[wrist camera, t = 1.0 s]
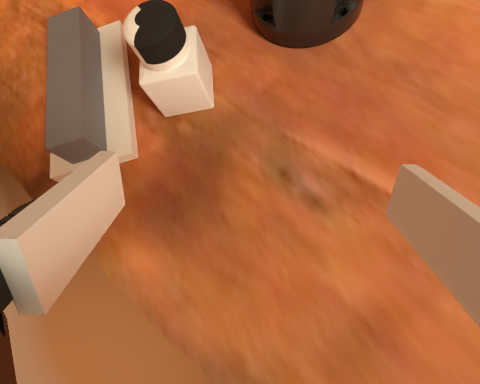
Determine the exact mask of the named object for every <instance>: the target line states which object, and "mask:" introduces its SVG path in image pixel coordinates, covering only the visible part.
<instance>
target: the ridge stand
mask: <svg viewBox="0 0 480 384" xmlns="http://www.w3.org/2000/svg"><path fill="white" fill-rule="evenodd" d="M45 150H47V151H49V152H50V179H52V180H55V181H57V182H60V181H61V180H63V179H64V178H65V177H67V176H68V175H69V174H71V173H72V172H73V171H75V170H76V169H77V168H78V167H80V166H81V165H82V164H84V163H85V162H86V161H88V160H89V159H90V158H92V157H93V156H94V155H96V154H97V153H98V152H99V151H114V152H117V154H118V160H119V164H120V163H123V162H126V161H130V160H133V159H136V158H138V149H137V139H136V130H135V120H134V111H133V101H132V92H131V82H130V73H129V63H128V54H127V44H126V40H125V38H124V36H123V25H122V23H121V22H120V20H119V21H116V22H113V23H111V24H108V25H105V26H102V27H100V28H96V27H95V26H94V24H93V23H92V22H91V21H90V19H89V18H88V17H87V16H86V14H85V13H84V12H83V11H82V9H81V8H80V7H79V6H78V7H76V8H73V9H70V10H68V11H65V12H63V13H60V14H57V15H55V16H52V17H49V18H48V45H47V88H46V131H45Z"/></svg>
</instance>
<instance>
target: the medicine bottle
mask: <svg viewBox="0 0 480 384" xmlns="http://www.w3.org/2000/svg"><path fill="white" fill-rule="evenodd" d="M123 36H124V38H125V40H126V41H127V43H128V44H129V45H130V47H131V48H132V50H133V51H134V52H135V54H136V55H137V57H138V58H139V59H140V66H139V85H140V86H141V88H142V89H143V90H144V91H145V93H146V94H147V95H148V96H149V98H150V99H151V100H152V101H153V103H154V104H155V105H156V106H157V108H158V109H159V110H160V111H161V113H162V114H163V115H164V116H165V117H169V116H175V115H180V114H185V113H191V112H196V111H201V110H206V109H212V108H213V107H214V95H213V77H212V65H211V63H210V60H209V58H208V55H207V53H206V50H205V48H204V45H203V43H202V41H201V38H200V36H199V33H198V31H197V28H196V26H194V25H192V26H188V27H183V25H182V23H181V20H180V18H179V16H178V14H177V11H176V9H175V8H174V6H173V5H171V4H170V3H168V2H166V1H163V0H150V1H146V2H143V3H141V4H140V5H138V6H136V7H135V8H134V9H133V10H132V11H131V12H130V13H129V14H128V15H127V17H126V19H125V21H124V25H123Z"/></svg>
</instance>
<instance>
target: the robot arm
mask: <svg viewBox="0 0 480 384" xmlns="http://www.w3.org/2000/svg"><path fill="white" fill-rule="evenodd" d="M363 1H364V0H251V10H252V16H253V21H254V24H255V26H256V28H257V30H258V31H259V32H260V34H261V35H262V36H264V37H265V38H266V39H268V40H269V41H271V42H273V43H275V44H278V45H281V46H285V47H291V48H307V47H313V46H317V45H321V44H324V43H327V42H329V41H331V40H333V39H335V38H337V37H339V36H340V35H342V34H343V33H344V32H346V31H347V30H348V29H349V28H350V27H351V26H352V25H353V24H354V22H355V21H356V20H357V18H358V16H359V14H360V12H361V9H362V6H363ZM124 205H125V198H124V192H123V186H122V179H121V173H120V167H119V160H118V154H117V152H114V151H99V152H98V153H97V154H96V155H94V156H93V157H92V158H90V159H89V160H88V161H86V162H85V163H84V164H82V165H81V166H80V167H78V168H77V169H76V170H75V171H73V172H72V173H71V174H69V175H68V176H67V177H65V178H64V179H63V180H61V181H60V182H59V183H57V184H56V185H55V186H53V187H52V188H51V189H50V190H48V191H47V192H46V193H44V194H43V195H42V196H40V197H39V198H38V199H35V200H32V201H30V202H28V203H26V204H24V205H21V206H19V207H18V208H16V209H15V210H14V211H12V212H11V213H10V214H8V216H5V217H4V218H3V219H1V220H0V384H17V382H16V376H15V369H14V364H13V357H12V350H11V344H10V337H9V330H8V325H7V319H6V316H5V315H4V312H3V310H4V309H5V308H6V307H7V306H8V305H9V303H10V302H11V301H12V300H13V302H14V304H15V306H16V309H17V311H18V313H19V314H25V315H46V313H47V312H48V311H49V309H50V308H51V307H52V305H53V304H54V302H55V301H56V300H57V298H58V297H59V295H60V294H61V293H62V291H63V290H64V289H65V287H66V286H67V284H68V283H69V281H70V280H71V279H72V277H73V276H74V275H75V273H76V272H77V270H78V269H79V268H80V266H81V265H82V264H83V262H84V261H85V259H86V258H87V257H88V255H89V254H90V252H91V251H92V250H93V248H94V247H95V246H96V244H97V243H98V241H99V240H100V239H101V237H102V236H103V234H104V233H105V232H106V230H107V229H108V228H109V226H110V225H111V223H112V222H113V221H114V219H115V218H116V216H117V215H118V214H119V212H120V211H121V209H122V208H123V207H124ZM385 215H386V217H387V218H388V219H389V220H390V221H391V222H392V224H393V225H394V226H395V227H396V228H397V230H398V231H399V232H400V233H401V234H402V236H403V237H404V238H405V239H406V240H407V242H408V243H409V244H410V245H411V246H412V247H413V249H414V250H415V251H416V252H417V253H418V255H419V256H420V257H421V258H422V259H423V261H424V262H425V263H426V264H427V265H428V266H429V268H430V269H431V270H432V271H433V272H434V274H435V275H436V276H437V277H438V278H439V280H440V281H441V282H442V283H443V284H444V285H445V287H446V288H447V289H448V290H449V291H450V293H451V294H452V295H453V296H454V297H455V299H456V300H457V301H458V302H459V303H460V304H461V306H462V307H463V308H464V309H465V310H466V312H467V313H468V314H469V315H470V316H471V318H472V319H473V320H474V321H475V322H476V323H477V325H478V326H479V327H480V207H478V206H477V205H475V204H474V203H472V202H471V201H469V200H468V199H467V198H465V197H464V196H462V195H461V194H459V193H458V192H456V191H455V190H453V189H452V188H451V187H449V186H448V185H446V184H445V183H443V182H442V181H440V180H439V179H437V178H436V177H434V176H433V175H432V174H430V173H429V172H427V171H426V170H424V169H423V168H421V167H420V166H418V165H409V164H401V166H400V170H399V173H398V176H397V179H396V182H395V185H394V188H393V191H392V194H391V197H390V200H389V204H388V207H387V210H386V213H385Z"/></svg>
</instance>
